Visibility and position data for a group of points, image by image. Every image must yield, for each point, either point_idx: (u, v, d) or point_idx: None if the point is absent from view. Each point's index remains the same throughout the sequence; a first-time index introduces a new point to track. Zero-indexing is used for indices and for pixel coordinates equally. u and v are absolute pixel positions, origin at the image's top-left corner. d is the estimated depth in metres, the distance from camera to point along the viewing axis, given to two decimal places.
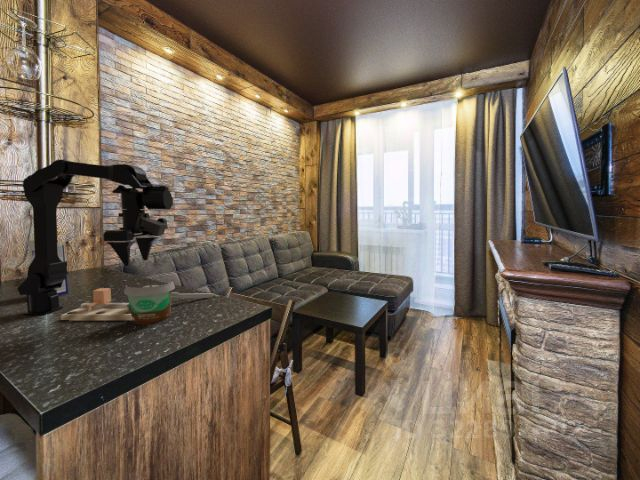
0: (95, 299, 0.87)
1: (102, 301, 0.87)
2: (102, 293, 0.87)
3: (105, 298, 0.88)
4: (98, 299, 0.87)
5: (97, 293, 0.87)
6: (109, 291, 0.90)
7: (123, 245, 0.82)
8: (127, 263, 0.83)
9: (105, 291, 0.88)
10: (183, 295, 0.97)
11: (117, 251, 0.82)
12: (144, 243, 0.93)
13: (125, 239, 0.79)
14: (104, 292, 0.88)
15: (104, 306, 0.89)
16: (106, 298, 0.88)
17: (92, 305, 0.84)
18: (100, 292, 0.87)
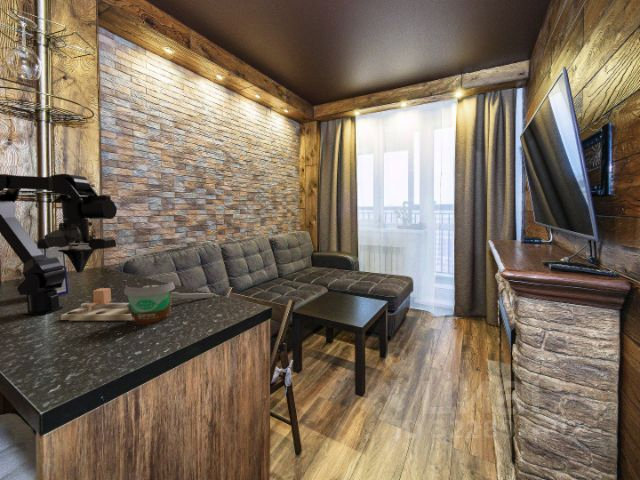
0: (95, 299, 0.87)
1: (102, 301, 0.87)
2: (102, 293, 0.87)
3: (105, 298, 0.88)
4: (98, 299, 0.87)
5: (97, 293, 0.87)
6: (109, 291, 0.90)
7: None
8: None
9: (105, 291, 0.88)
10: (183, 295, 0.97)
11: None
12: None
13: (37, 247, 0.84)
14: (104, 292, 0.88)
15: (104, 306, 0.89)
16: (106, 298, 0.88)
17: (92, 305, 0.84)
18: (100, 292, 0.87)
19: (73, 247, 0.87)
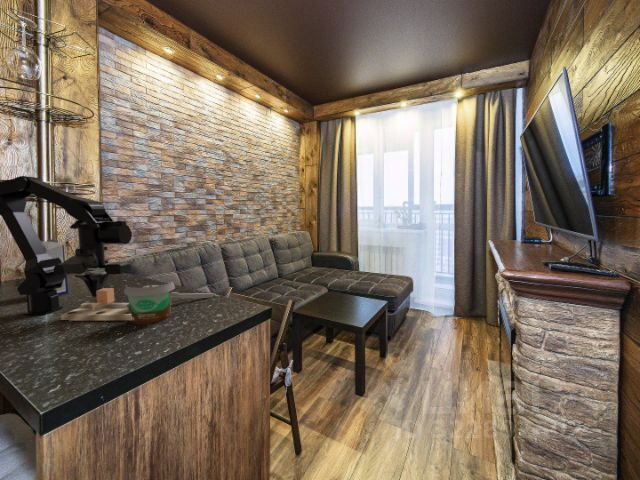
0: (98, 299, 0.87)
1: (105, 301, 0.87)
2: (105, 293, 0.87)
3: (108, 298, 0.88)
4: (101, 299, 0.87)
5: (100, 293, 0.87)
6: (112, 291, 0.90)
7: None
8: None
9: (108, 291, 0.88)
10: (183, 295, 0.97)
11: None
12: None
13: (54, 272, 0.85)
14: (108, 292, 0.88)
15: (104, 306, 0.89)
16: (109, 298, 0.88)
17: (95, 305, 0.84)
18: (103, 292, 0.87)
19: (89, 272, 0.88)
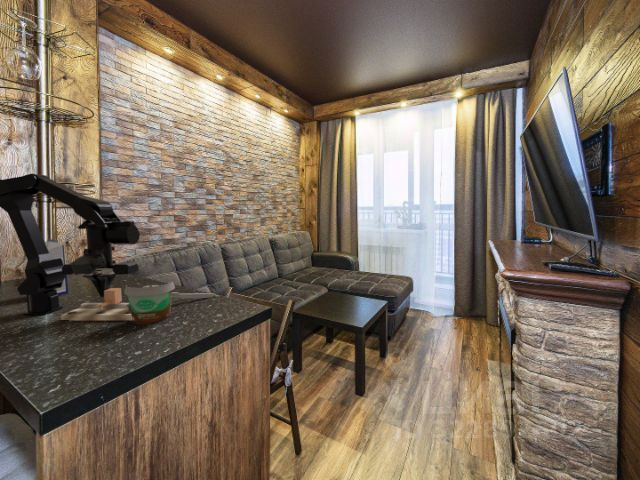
0: (106, 299, 0.87)
1: (113, 301, 0.88)
2: (113, 293, 0.87)
3: (116, 298, 0.88)
4: (109, 299, 0.87)
5: (108, 293, 0.87)
6: (120, 291, 0.90)
7: None
8: None
9: (116, 291, 0.88)
10: (183, 295, 0.97)
11: None
12: None
13: (62, 273, 0.85)
14: (115, 292, 0.88)
15: (104, 306, 0.89)
16: (117, 298, 0.88)
17: (103, 305, 0.84)
18: (111, 292, 0.87)
19: (97, 272, 0.88)
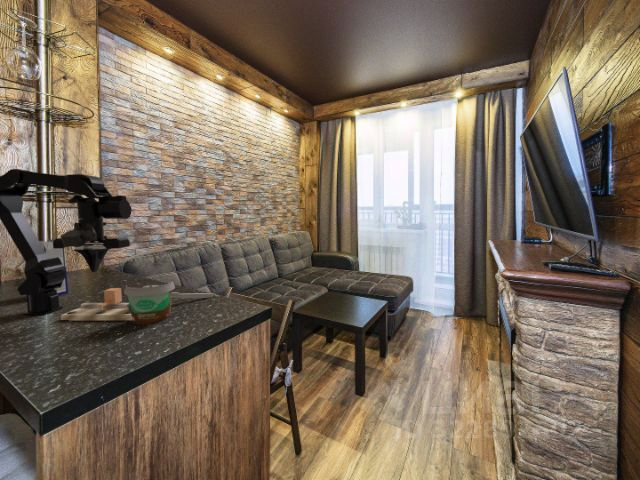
0: (106, 299, 0.87)
1: (113, 301, 0.88)
2: (113, 293, 0.87)
3: (116, 298, 0.88)
4: (109, 299, 0.87)
5: (108, 293, 0.87)
6: (120, 291, 0.90)
7: None
8: None
9: (116, 291, 0.88)
10: (183, 294, 0.97)
11: None
12: None
13: (53, 246, 0.85)
14: (115, 292, 0.88)
15: (104, 306, 0.89)
16: (117, 298, 0.88)
17: (103, 305, 0.84)
18: (111, 292, 0.87)
19: (88, 247, 0.88)
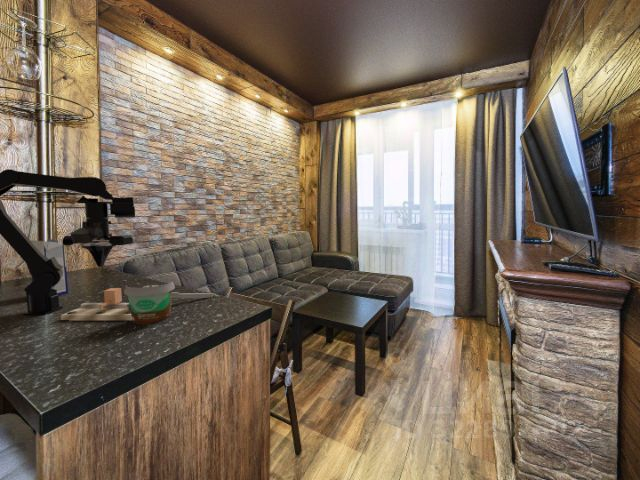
0: (106, 299, 0.87)
1: (113, 301, 0.88)
2: (113, 293, 0.87)
3: (116, 298, 0.88)
4: (109, 299, 0.87)
5: (108, 293, 0.87)
6: (120, 291, 0.90)
7: None
8: None
9: (116, 291, 0.88)
10: (183, 294, 0.97)
11: None
12: None
13: None
14: (115, 292, 0.88)
15: (104, 306, 0.89)
16: (117, 298, 0.88)
17: (103, 305, 0.84)
18: (111, 292, 0.87)
19: (94, 244, 0.95)
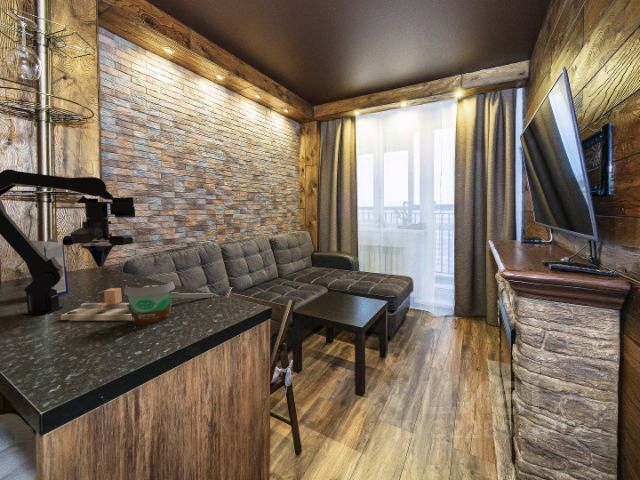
0: (106, 299, 0.87)
1: (113, 301, 0.88)
2: (113, 293, 0.87)
3: (116, 298, 0.88)
4: (109, 299, 0.87)
5: (108, 293, 0.87)
6: (120, 291, 0.90)
7: None
8: None
9: (116, 291, 0.88)
10: (183, 294, 0.97)
11: None
12: None
13: None
14: (115, 292, 0.88)
15: (104, 306, 0.89)
16: (117, 298, 0.88)
17: (103, 305, 0.84)
18: (111, 292, 0.87)
19: (94, 244, 0.95)
